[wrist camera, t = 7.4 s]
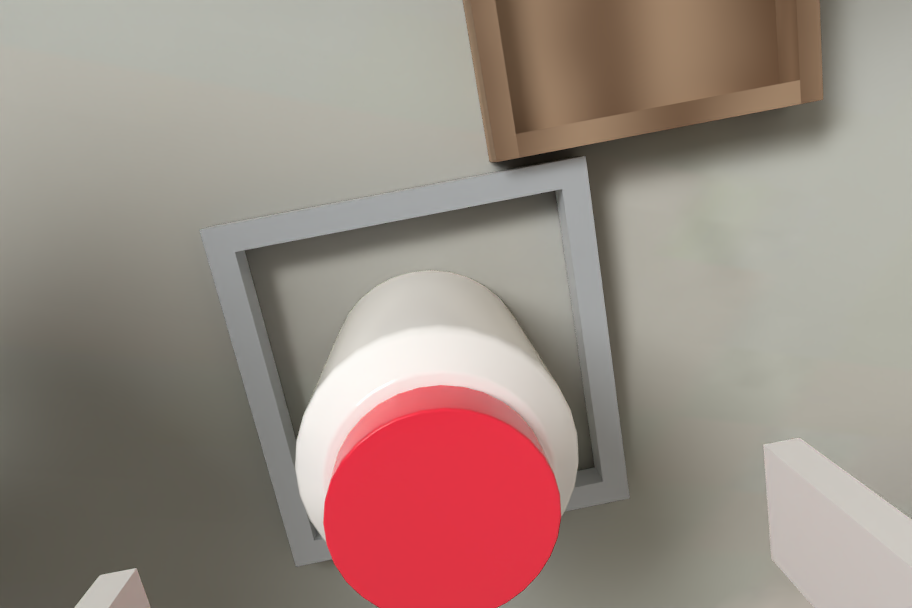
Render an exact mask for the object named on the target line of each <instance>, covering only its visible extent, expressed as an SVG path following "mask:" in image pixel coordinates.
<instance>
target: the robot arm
mask: <svg viewBox="0 0 912 608" xmlns="http://www.w3.org/2000/svg"><path fill="white" fill-rule="evenodd" d="M763 448H764V462H765V476H766V490H767V504H768V518H769V532H770V546H771V559H772V560H773V561H774V563H775V564H776V565H777V566H778V567H779V568H780V569H781V570H782V572H783V573H784V574H785V575H786V576H787V577H788V578H789V580H790V581H791V582H792V583H793V584H794V585H795V586H796V587H797V589H798V590H799V591H800V592H801V593H802V594H803V595H804V597H805V598H806V599H807V600H808V601H809V602H810V603H811V605H812V606H813V607H814V608H912V519H910V518H909V517H908V516H906V515H905V514H903V513H902V512H901V511H899V510H898V509H897V508H895V507H894V506H892V505H891V504H890V503H888V502H887V501H886V500H884V499H883V498H881V497H880V496H879V495H877V494H876V493H875V492H873V491H872V490H871V489H869V488H868V487H866V486H865V485H864V484H862V483H861V482H860V481H858V480H857V479H855V478H854V477H853V476H851V475H850V474H849V473H847V472H846V471H845V470H843V469H842V468H840V467H839V466H838V465H836V464H835V463H834V462H832V461H831V460H829V459H828V458H827V457H825V456H824V455H823V454H821V453H820V452H818V451H817V450H816V449H814V448H813V447H812V446H810V445H809V444H808V443H806V442H805V441H803V440H802V439H801V438H795V439H789V440H784V441H779V442H774V443H769V444H764V445H763ZM74 608H151V607H150V604H149V601H148V598H147V596H146V593H145V590H144V587H143V584H142V582H141V579H140V576H139V573H138V570H137V568H133V569H128V570H123V571H118V572H113V573H108V574H103V575H99V577H98V578H97V579H96V580H95V582H94V583H93V584H92V586H91V587H90V588H89V589H88V591H87V592H86V593H85V595H84V596H83V597H82V598H81V600H80V601H79V602H78V604H77V605H76V606H75V607H74Z"/></svg>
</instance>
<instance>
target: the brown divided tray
mask: <svg viewBox="0 0 912 608" xmlns="http://www.w3.org/2000/svg"><path fill="white" fill-rule="evenodd" d="M463 5H464V11H465V17H466V23H467V29H468V35H469V41H470V47H471V53H472V59H473V65H474V71H475V77H476V83H477V89H478V95H479V101H480V107H481V113H482V119H483V125H484V131H485V137H486V143H487V149H488V155H489V161H490V162H500V161H505V160H510V159H515V158H521V157H526V156H531V155H536V154H542V153H547V152H552V151H557V150H562V149H568V148H573V147H578V146H583V145H589V144H594V143H599V142H604V141H610V140H615V139H620V138H625V137H631V136H636V135H641V134H646V133H652V132H657V131H662V130H667V129H673V128H678V127H683V126H688V125H693V124H699V123H704V122H709V121H714V120H720V119H725V118H730V117H735V116H741V115H746V114H751V113H756V112H762V111H767V110H772V109H777V108H783V107H788V106H793V105H798V104H804V103H809V102H814V101H819V100H823V78H822V51H821V23H820V0H463Z"/></svg>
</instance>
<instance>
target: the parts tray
mask: <svg viewBox="0 0 912 608" xmlns="http://www.w3.org/2000/svg"><path fill="white" fill-rule="evenodd" d="M550 191H555V192H556V199H557V206H558V213H559V220H560V227H561V234H562V241H563V248H564V255H565V262H566V269H567V276H568V283H569V290H570V297H571V304H572V311H573V318H574V325H575V332H576V339H577V346H578V353H579V360H580V368H581V375H582V382H583V389H584V396H585V403H586V410H587V417H588V424H589V431H590V438H591V445H592V452H593V459H594V466H595V467H594V468H589V469H584V470H579V471H577V475H576V481H575V487H574V489H573V492H572V495H571V497H570V500H569V502H568V505H567V508H566V510H565V511H570V510H575V509H580V508H585V507H590V506H595V505H600V504H604V503H609V502H614V501H619V500H624V499H629V498H630V496H629V488H628V481H627V473H626V465H625V457H624V450H623V442H622V434H621V426H620V419H619V411H618V403H617V395H616V388H615V380H614V372H613V364H612V357H611V349H610V341H609V333H608V326H607V318H606V310H605V302H604V295H603V287H602V279H601V271H600V264H599V256H598V248H597V240H596V233H595V225H594V217H593V209H592V202H591V194H590V186H589V178H588V171H587V163H586V156H575V157H570V158H565V159H560V160H554V161H549V162H544V163H539V164H534V165H528V166H523V167H518V168H513V169H507V170H502V171H497V172H492V173H486V174H481V175H476V176H471V177H466V178H460V179H455V180H450V181H445V182H439V183H434V184H429V185H424V186H418V187H413V188H408V189H403V190H398V191H392V192H387V193H382V194H377V195H371V196H366V197H361V198H356V199H350V200H345V201H340V202H335V203H330V204H324V205H319V206H314V207H309V208H303V209H298V210H293V211H288V212H282V213H277V214H272V215H267V216H262V217H256V218H251V219H246V220H241V221H235V222H230V223H225V224H220V225H214V226H210V227H207V228H204V229H201V230H199V231H200V234H201V238H202V241H203V245H204V248H205V252H206V255H207V259H208V262H209V266H210V269H211V273H212V276H213V280H214V283H215V287H216V290H217V294H218V297H219V301H220V304H221V307H222V311H223V314H224V318H225V321H226V325H227V328H228V332H229V335H230V339H231V342H232V346H233V349H234V353H235V356H236V360H237V363H238V367H239V370H240V374H241V377H242V381H243V384H244V388H245V391H246V395H247V398H248V402H249V405H250V409H251V412H252V416H253V419H254V423H255V426H256V430H257V433H258V436H259V440H260V443H261V447H262V450H263V454H264V457H265V461H266V464H267V468H268V471H269V475H270V478H271V482H272V485H273V489H274V492H275V496H276V499H277V503H278V506H279V510H280V513H281V517H282V520H283V524H284V527H285V531H286V534H287V538H288V541H289V545H290V548H291V552H292V555H293V559H294V562H295V565H296V567H297V566H302V565H307V564H312V563H317V562H322V561H327V560H331V559H332V557H331V554H330V552H329V549H328V547H327V544H326V542H325V541H324V540H323V538H322V537H321V535H320V534H319V532H318V531H317V529H316V528H315V526H314V525H313V523H312V522H311V520H310V519H309V517H308V514H307V512H306V509H305V507H304V504H303V502H302V499H301V497H300V494H299V488H298V482H297V476H296V470H295V456H296V438H295V434H294V431H293V427H292V423H291V420H290V416H289V412H288V409H287V405H286V401H285V397H284V394H283V390H282V386H281V383H280V379H279V375H278V372H277V368H276V364H275V361H274V357H273V353H272V349H271V346H270V342H269V338H268V335H267V331H266V327H265V324H264V320H263V316H262V313H261V309H260V305H259V301H258V298H257V294H256V290H255V287H254V283H253V279H252V276H251V272H250V268H249V265H248V261H247V257H246V253H245V250H248V249H253V248H259V247H264V246H269V245H274V244H279V243H285V242H290V241H295V240H300V239H305V238H311V237H316V236H321V235H326V234H331V233H337V232H342V231H347V230H352V229H357V228H363V227H368V226H373V225H378V224H383V223H389V222H394V221H399V220H404V219H409V218H415V217H420V216H425V215H430V214H435V213H441V212H446V211H451V210H456V209H461V208H467V207H472V206H477V205H482V204H487V203H493V202H498V201H503V200H508V199H513V198H519V197H524V196H529V195H534V194H539V193H545V192H550Z"/></svg>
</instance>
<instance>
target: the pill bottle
mask: <svg viewBox="0 0 912 608" xmlns="http://www.w3.org/2000/svg"><path fill="white" fill-rule="evenodd" d="M578 462H579V459H578V437H577V431H576V427H575V424H574V420H573V416H572V412H571V409H570V407H569V405H568V403H567V402H566V400H565V398H564V396H563V394H562V392H561V390H560V388H559V386H558V384H557V383H556V381H555V379H554V378H553V376H552V375H551V373H550V372H549V370H548V368H547V367H546V365H545V364H544V362H543V361H542V359H541V358H540V356H539V354H538V353H537V351H536V350H535V348H534V347H533V345H532V344H531V342H530V340H529V339H528V337H527V336H526V334H525V333H524V331H523V330H522V328H521V326H520V325H519V323H518V322H517V320H516V319H515V317H514V316H513V314H512V313H511V311H510V310H509V309H508V308H507V306H506V305H505V304H504V303H503V302H502V300H501V299H500V298H499V297H498V296H497V295H495V294H494V293H493V292H492V291H490V290H489V289H488V288H487V287H486V286H484V285H482V284H480V283H478V282H476V281H474V280H472V279H471V278H469V277H466V276H462V275H459V274H455V273H452V272H446V271H435V270H426V271H416V272H409V273H406V274H403V275H399V276H396V277H393V278H391V279H389V280H387V281H385V282H383V283H381V284H379V285H378V286H376V287H374V288H373V289H372V290H371V291H369V292H368V293H367V294H366V295H365V296H363V297H362V298H361V299H360V300H359V301H358V302H357V304H356V305H355V306H354V307H353V309H352V310H351V311H350V312H349V313H348V315H347V317H346V319H345V321H344V323H343V325H342V327H341V328H340V330H339V333H338V335H337V337H336V340H335V342H334V344H333V347H332V349H331V351H330V354H329V356H328V358H327V361H326V363H325V365H324V368H323V370H322V372H321V375H320V377H319V379H318V382H317V384H316V386H315V389H314V391H313V393H312V396H311V398H310V400H309V403H308V405H307V407H306V410H305V412H304V415H303V418H302V422H301V426H300V429H299V433H298V437H297V440H296V456H295V470H296V476H297V482H298V488H299V494H300V497H301V499H302V502H303V504H304V507H305V509H306V512H307V514H308V517H309V519H310V520H311V522H312V523H313V525H314V526H315V528H316V529H317V531H318V532H319V534H320V535H321V537H322V538H323V540H324V541H325V542H326V544H327V547H328V549H329V552H330V554H331V557H332V559H333V562H334V564H335V566H336V567H337V569H338V570H339V572H340V573H341V575H342V576H343V578H344V579H345V581H346V582H347V583H348V584H349V585H350V586H351V587H352V588H353V589H354V590H355V591H356V592H357V593H359V594H360V595H361V596H362V597H363V598H365V599H366V600H368V601H369V602H371V603H373V604H374V605H376V606H377V607H379V608H497V607H499V606H501V605H503V604H505V603H507V602H508V601H510V600H511V599H512V598H514V597H515V596H516V595H518V594H519V593H521V592H522V591H523V590H525V588H526V587H527V586H528V585H529V584H530V583H531V582H532V581H533V580H534V579H535V578H536V577H537V576H538V575H539V573H540V572H541V570H542V569H543V567H544V566H545V564H546V562H547V561H548V559H549V558H550V556H551V553H552V551H553V548H554V546H555V543H556V540H557V538H558V533H559V527H560V521H561V517H562V515H563V513H564V512H565V510H566V508H567V505H568V502H569V500H570V497H571V495H572V492H573V489H574V487H575V481H576V475H577V469H578Z"/></svg>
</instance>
